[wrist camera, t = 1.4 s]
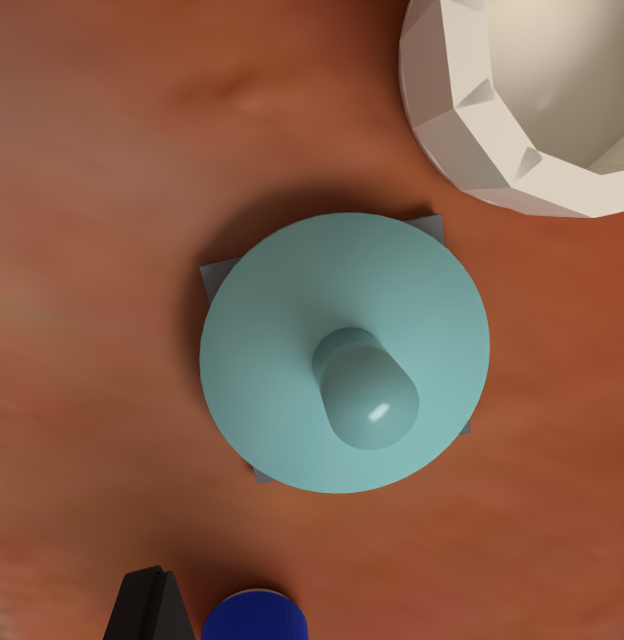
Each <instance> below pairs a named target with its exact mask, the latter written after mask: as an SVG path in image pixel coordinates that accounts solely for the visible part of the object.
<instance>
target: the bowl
mask: <svg viewBox="0 0 624 640" xmlns="http://www.w3.org/2000/svg"><path fill="white" fill-rule="evenodd" d="M398 75H399V86H400V93H401V98H402V103H403V108H404V112H405V115H406V118H407V120H408V123H409V126H410V129H411V131H412V133H413V135H414V137H415V139H416V141H417V143H418V145H419V147H420V149H421V150H422V152H423V153H424V155H425V156H426V158H427V159H428V161H429V162H430V163H431V164H432V165H433V167H434V168H435V169H436V170H437V171H438V172H439V173H440V175H441V176H443V177H444V178H445V179H446V180H447V181H448V182H450V183H451V184H452V185H453V186H454V187H456V188H457V189H458V190H460V191H462V192H464V193H465V194H467V195H468V196H471V197H473V198H475V199H477V200H479V201H482V202H484V203H487V204H491V205H494V206H498V207H502V208H509V209H512V210H514V211H517V212H520V213H523V214H525V215H540V216H560V217H580V218H596V217H600V216H605V215H609V214H614V213H618V212H623V211H624V0H410V1H409V3H408V6H407V10H406V13H405V17H404V21H403V25H402V30H401V36H400V41H399V55H398Z"/></svg>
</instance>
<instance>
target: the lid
mask: <svg viewBox="0 0 624 640" xmlns="http://www.w3.org/2000/svg"><path fill="white" fill-rule="evenodd" d="M489 353H490V340H489V328H488V322H487V317H486V312H485V309H484V306H483V303H482V300H481V297H480V294H479V292H478V290H477V288H476V286H475V284H474V282H473V280H472V279H471V277H470V276H469V274H468V273H467V271H466V270H465V268H464V267H463V266H462V264H461V263H460V262H459V261H458V260H457V259H456V258H455V256H454V255H453V254H452V253H451V252H450V251H449V250H448V249H447V248H445V247H444V246H443V245H442V244H441V243H439V242H438V241H437V240H436V239H434V238H433V237H431V236H430V235H428V234H426V233H425V232H423V231H421V230H420V229H418V228H416V227H413V226H411V225H409V224H406V223H404V222H402V221H399V220H396V219H392V218H388V217H384V216H381V215H373V214H365V213H357V212H343V213H330V214H323V215H316V216H313V217H310V218H306V219H303V220H299V221H296V222H294V223H292V224H290V225H287V226H285V227H283V228H280V229H279V230H277V231H275V232H274V233H272V234H270V235H269V236H267V237H265V238H264V239H262V240H261V241H260V242H259V243H257V244H256V245H255V246H254V247H252V248H251V249H250V250H249V251H248V252H247V253H246V254H245V255H244V256H243V257H242V258H241V259H240V260H239V261H238V262H237V263H236V264H235V265H234V267H233V268H232V269H231V271H230V272H229V274H228V275H227V276H226V278H225V279H224V281H223V282H222V284H221V286H220V288H219V290H218V291H217V293H216V295H215V297H214V299H213V301H212V303H211V306H210V309H209V312H208V314H207V317H206V320H205V323H204V328H203V332H202V337H201V344H200V357H199V362H200V377H201V383H202V388H203V392H204V397H205V400H206V402H207V405H208V408H209V411H210V413H211V415H212V417H213V419H214V421H215V423H216V425H217V427H218V429H219V430H220V432H221V433H222V435H223V436H224V437H225V439H226V440H227V441H228V443H229V444H230V445H231V446H232V447H233V448H234V449H235V451H236V452H237V453H238V454H239V455H240V456H241V457H242V458H243V459H245V460H246V461H247V462H248V463H250V464H251V465H252V466H253V467H255V468H256V469H258V470H259V471H261V472H263V473H264V474H266V475H268V476H269V477H271V478H273V479H276V480H278V481H280V482H282V483H285V484H287V485H290V486H293V487H297V488H300V489H303V490H309V491H315V492H321V493H352V492H360V491H366V490H371V489H375V488H379V487H382V486H385V485H388V484H391V483H394V482H396V481H398V480H400V479H403V478H405V477H407V476H409V475H411V474H412V473H414V472H416V471H418V470H419V469H421V468H423V467H424V466H425V465H427V464H428V463H429V462H431V461H432V460H433V459H435V458H436V457H437V456H438V455H439V454H440V453H441V452H443V451H444V450H445V449H446V448H447V447H448V446H449V445H450V444H451V443H452V441H453V440H454V439H455V438H456V437H457V435H458V434H459V433H460V432H461V431H462V429H463V428H464V426H465V424H466V423H467V421H468V420H469V418H470V417H471V415H472V413H473V411H474V409H475V407H476V405H477V403H478V401H479V398H480V395H481V393H482V390H483V387H484V384H485V380H486V375H487V370H488V365H489Z"/></svg>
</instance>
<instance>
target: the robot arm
mask: <svg viewBox="0 0 624 640" xmlns="http://www.w3.org/2000/svg"><path fill="white" fill-rule="evenodd" d="M103 640H196V639H195V636H194V633H193V630H192V627H191V624H190V621H189V618H188V615H187V612H186V609H185V606H184V603H183V600H182V597H181V594H180V591H179V588H178V585H177V582H176V579H175V576H174V574H173V572H172V571H168V572H163V570H162V568H161V567H160V566H158V565H157V566H153V567H149V568H145V569H141V570H138V571H134V572H130V573H127V574H126V575H125V577H124V579H123V581H122V584H121V587H120V590H119V593H118V596H117V599H116V602H115V605H114V608H113V611H112V614H111V617H110V620H109V623H108V626H107V629H106V632H105V635H104V638H103Z"/></svg>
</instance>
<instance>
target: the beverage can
mask: <svg viewBox="0 0 624 640" xmlns="http://www.w3.org/2000/svg"><path fill="white" fill-rule="evenodd" d="M201 640H309V637H308V629H307V622H306V619H305V617H304V615H303V613H302V611H301V610H300V609H299V608H298V606H297V605H296V604H294V603H293V602H292V601H291V600H290V599H288V598H287V597H285V596H284V595H282V594H280V593H278V592H276V591H273V590H269V589H261V588H258V589H248V590H243V591H240V592H237V593H235V594H233V595H231V596H230V597H228V598H226V599H225V600H224V601H223V602H221V603H220V604H219V605H218V606H217V607H216V608H214V610H213V611H212V612H211V613H210V614H209V616H208V617H207V619H206V621H205V623H204V626H203V628H202V634H201Z"/></svg>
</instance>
